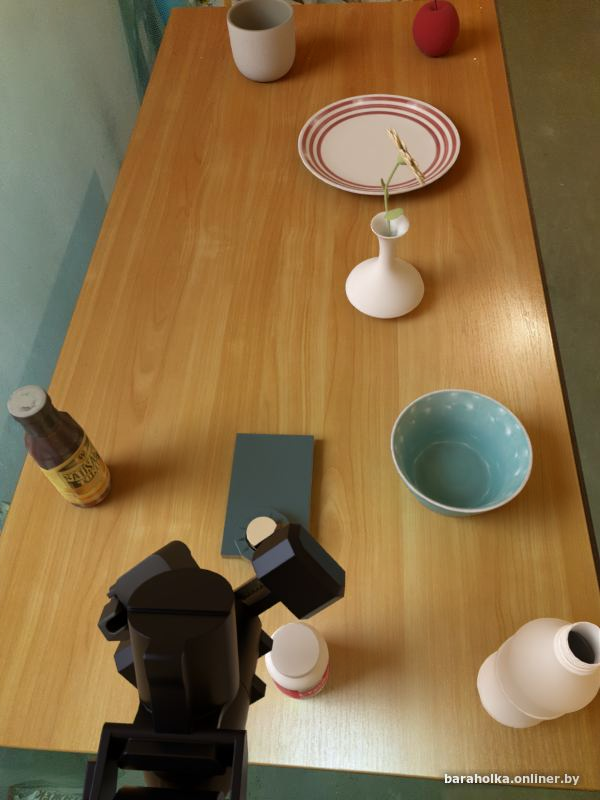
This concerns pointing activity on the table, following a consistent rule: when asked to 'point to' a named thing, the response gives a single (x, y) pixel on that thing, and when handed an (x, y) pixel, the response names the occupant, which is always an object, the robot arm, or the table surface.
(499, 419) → the bowl
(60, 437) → the sauce bottle
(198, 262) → the table surface
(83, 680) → the table surface
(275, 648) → the pill bottle
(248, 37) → the planter
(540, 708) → the water bottle
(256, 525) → the beige round cap
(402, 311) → the flower in vase
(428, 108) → the dinner plate
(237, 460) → the teal rectangular base
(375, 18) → the table surface
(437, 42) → the apple
